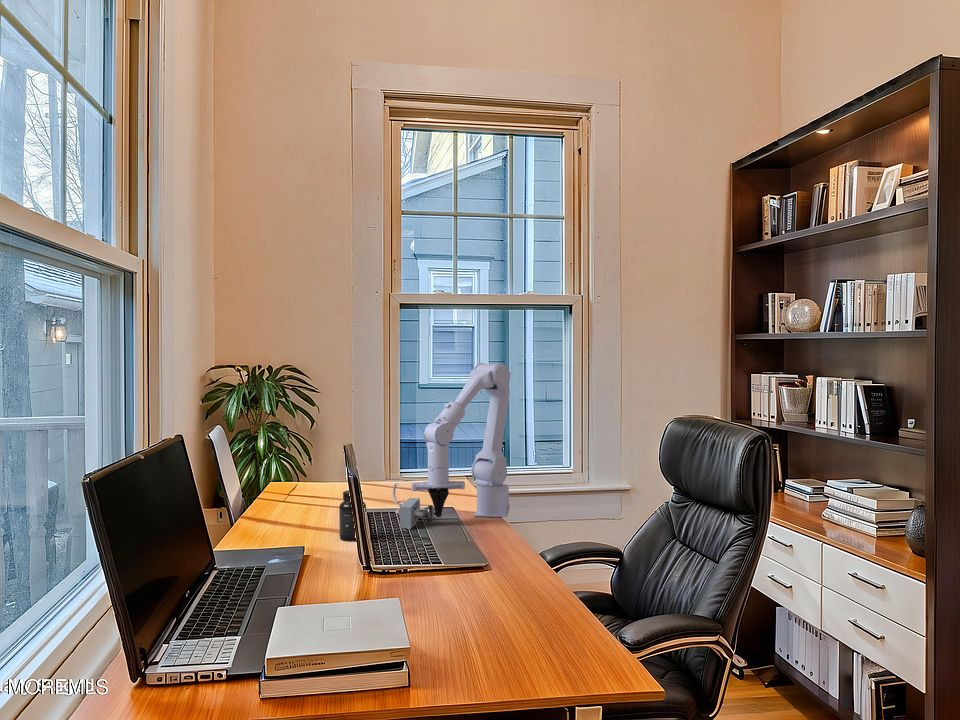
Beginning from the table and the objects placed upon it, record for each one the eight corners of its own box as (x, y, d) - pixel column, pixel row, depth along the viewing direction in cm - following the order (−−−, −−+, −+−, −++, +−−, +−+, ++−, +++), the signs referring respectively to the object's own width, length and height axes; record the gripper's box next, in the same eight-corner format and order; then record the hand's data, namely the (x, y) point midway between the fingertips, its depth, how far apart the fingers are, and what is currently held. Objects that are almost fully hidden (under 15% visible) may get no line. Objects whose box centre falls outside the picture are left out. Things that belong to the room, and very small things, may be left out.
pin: (433, 520, 204) (433, 503, 204) (430, 524, 200) (430, 507, 199) (402, 519, 205) (401, 503, 205) (398, 523, 201) (398, 506, 201)
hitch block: (419, 519, 208) (419, 498, 208) (410, 529, 196) (410, 507, 196) (409, 518, 209) (409, 497, 209) (399, 529, 197) (399, 507, 197)
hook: (407, 500, 234) (429, 522, 216) (378, 502, 230) (399, 526, 212) (408, 478, 233) (430, 499, 215) (379, 480, 229) (400, 502, 211)
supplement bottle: (333, 539, 187) (333, 492, 186) (350, 533, 193) (350, 488, 193) (355, 542, 184) (355, 495, 183) (371, 536, 190) (371, 490, 189)
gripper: (461, 463, 207) (461, 511, 207) (410, 465, 204) (410, 514, 204) (466, 467, 200) (466, 517, 200) (413, 469, 197) (413, 519, 197)
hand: (438, 516), depth 202 cm, fingers closed
